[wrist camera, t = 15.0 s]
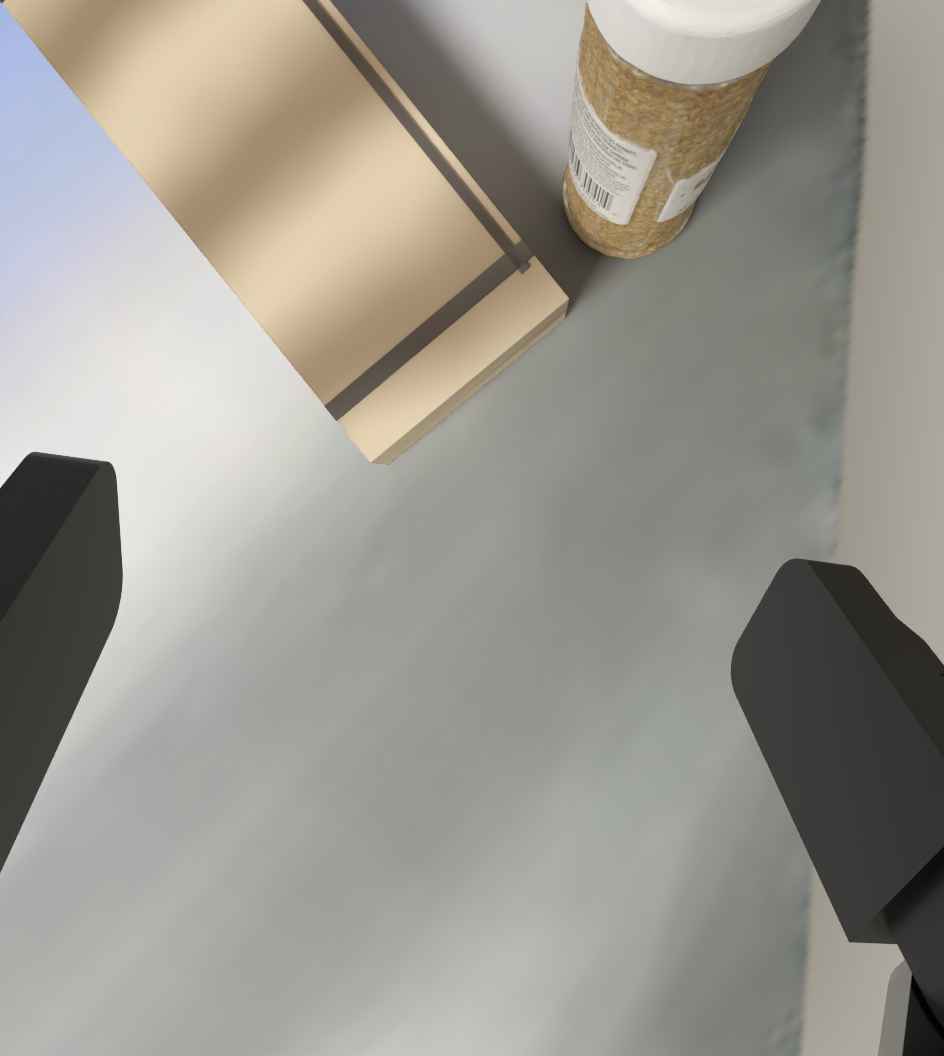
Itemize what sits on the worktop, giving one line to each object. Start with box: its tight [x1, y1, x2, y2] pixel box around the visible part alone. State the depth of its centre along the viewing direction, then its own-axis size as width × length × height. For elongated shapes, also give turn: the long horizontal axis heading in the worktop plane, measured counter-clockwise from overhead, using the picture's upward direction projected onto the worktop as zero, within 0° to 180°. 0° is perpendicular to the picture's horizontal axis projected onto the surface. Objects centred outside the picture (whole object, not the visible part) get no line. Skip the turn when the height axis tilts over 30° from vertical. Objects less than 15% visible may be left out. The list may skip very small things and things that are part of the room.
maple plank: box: [0, 0, 569, 465], centre depth 25 cm, size 20×8×3 cm, turn 39°
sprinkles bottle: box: [562, 0, 821, 259], centre depth 19 cm, size 5×5×14 cm
